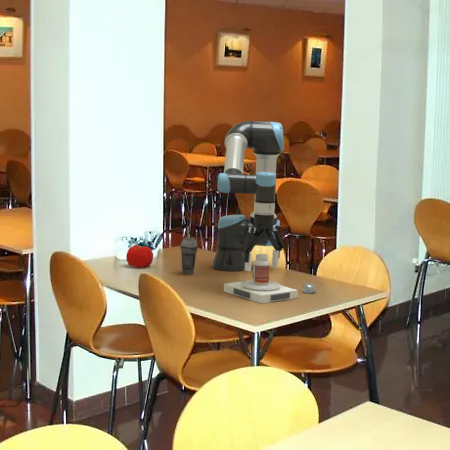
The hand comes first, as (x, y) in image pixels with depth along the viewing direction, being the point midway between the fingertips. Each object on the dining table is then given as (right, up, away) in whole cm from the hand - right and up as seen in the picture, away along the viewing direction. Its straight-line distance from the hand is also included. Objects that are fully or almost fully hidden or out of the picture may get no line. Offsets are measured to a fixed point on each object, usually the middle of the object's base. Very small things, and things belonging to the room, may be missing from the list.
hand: (261, 268), depth 312 cm
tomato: (-51, -2, +44) cm, 68 cm away
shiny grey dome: (+19, -10, +9) cm, 23 cm away
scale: (0, -10, +1) cm, 10 cm away
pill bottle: (0, -6, +1) cm, 6 cm away
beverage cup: (-29, -4, +34) cm, 45 cm away
